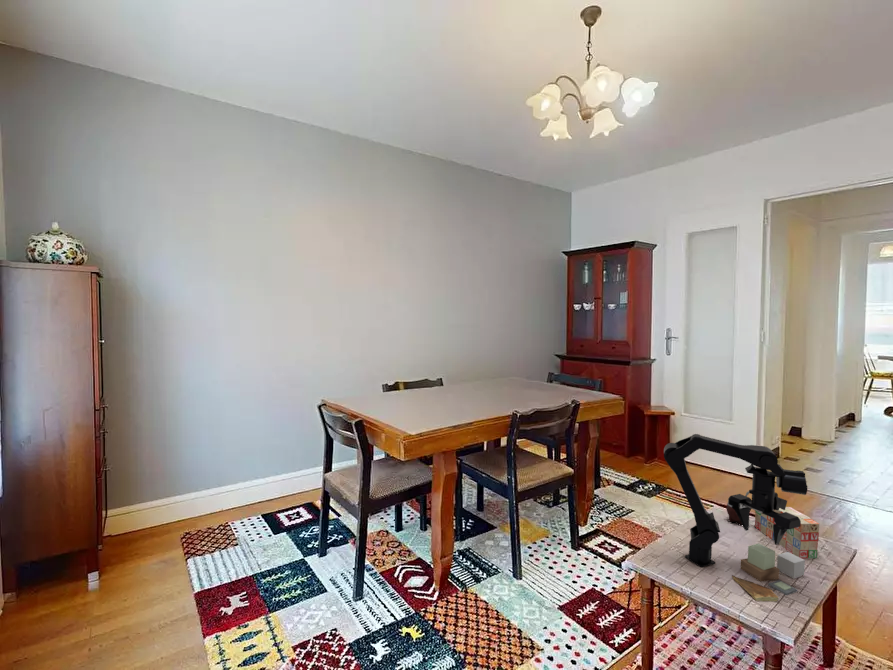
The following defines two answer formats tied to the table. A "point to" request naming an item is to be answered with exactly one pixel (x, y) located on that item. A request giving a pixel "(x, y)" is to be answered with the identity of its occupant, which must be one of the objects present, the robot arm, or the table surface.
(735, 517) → the mate gourd
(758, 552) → the sage cube
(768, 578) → the walnut block
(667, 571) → the table surface
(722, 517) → the table surface
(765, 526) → the stack of blocks
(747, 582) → the shard
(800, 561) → the grey cube
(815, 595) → the table surface
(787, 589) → the card
